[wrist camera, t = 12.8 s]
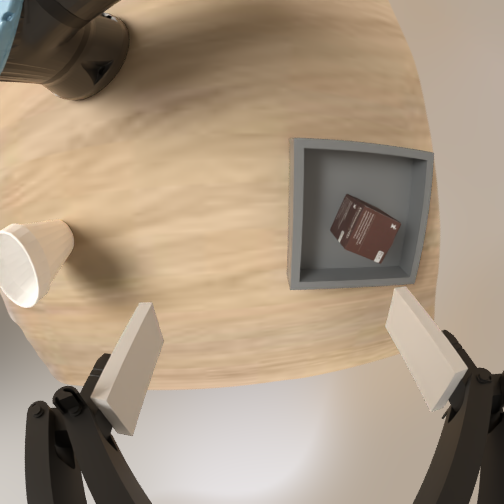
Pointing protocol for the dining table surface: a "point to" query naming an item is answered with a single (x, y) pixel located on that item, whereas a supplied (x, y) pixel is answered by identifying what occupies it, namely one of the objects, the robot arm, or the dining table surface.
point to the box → (364, 229)
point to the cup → (32, 258)
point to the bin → (366, 189)
